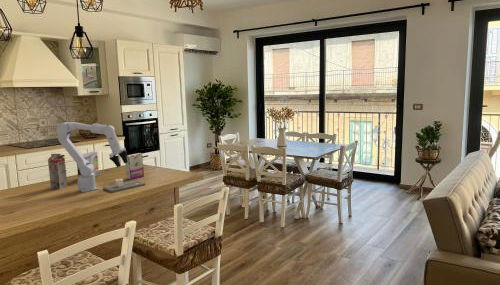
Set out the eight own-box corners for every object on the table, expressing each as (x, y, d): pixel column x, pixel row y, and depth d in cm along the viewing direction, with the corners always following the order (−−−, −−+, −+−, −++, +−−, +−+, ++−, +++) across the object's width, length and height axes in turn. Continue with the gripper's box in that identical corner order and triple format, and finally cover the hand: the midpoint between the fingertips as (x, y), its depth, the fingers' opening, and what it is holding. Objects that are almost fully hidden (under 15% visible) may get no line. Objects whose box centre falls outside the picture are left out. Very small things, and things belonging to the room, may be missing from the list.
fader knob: (118, 187, 221) (118, 180, 220) (115, 185, 224) (115, 179, 223) (123, 185, 223) (123, 179, 222) (120, 184, 226) (120, 178, 225)
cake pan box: (83, 182, 240) (81, 156, 237) (76, 182, 241) (74, 156, 238) (99, 175, 259) (97, 151, 256) (93, 175, 260) (91, 151, 257)
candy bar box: (139, 175, 256) (138, 152, 253) (144, 176, 253) (142, 153, 250) (126, 178, 247) (124, 155, 245) (130, 179, 244) (128, 156, 242)
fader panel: (111, 192, 214) (111, 190, 213) (103, 189, 222) (103, 187, 222) (145, 185, 229) (144, 183, 229) (135, 182, 237) (135, 180, 237)
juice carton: (60, 189, 224) (56, 154, 221) (51, 188, 225) (47, 154, 222) (67, 186, 231) (64, 152, 227) (58, 186, 232) (55, 152, 229)
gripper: (112, 145, 212) (121, 167, 215) (126, 139, 226) (134, 159, 228) (103, 148, 214) (111, 169, 217) (117, 142, 228) (124, 162, 230)
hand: (122, 164), depth 223 cm, fingers open, 7 cm apart
